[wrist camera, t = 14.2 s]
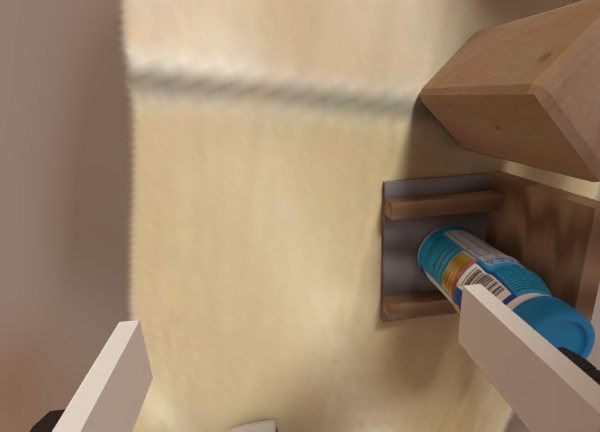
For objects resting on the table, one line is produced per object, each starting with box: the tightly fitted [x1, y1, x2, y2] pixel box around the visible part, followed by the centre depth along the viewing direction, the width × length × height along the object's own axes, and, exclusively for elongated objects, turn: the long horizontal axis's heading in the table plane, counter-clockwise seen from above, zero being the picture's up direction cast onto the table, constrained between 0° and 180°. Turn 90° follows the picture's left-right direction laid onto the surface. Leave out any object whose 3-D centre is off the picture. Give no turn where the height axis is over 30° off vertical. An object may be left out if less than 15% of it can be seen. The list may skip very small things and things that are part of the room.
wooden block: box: [419, 0, 600, 182], centre depth 35 cm, size 10×10×20 cm
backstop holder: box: [381, 172, 600, 322], centre depth 43 cm, size 20×16×16 cm
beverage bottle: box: [418, 226, 595, 359], centre depth 40 cm, size 8×8×20 cm
